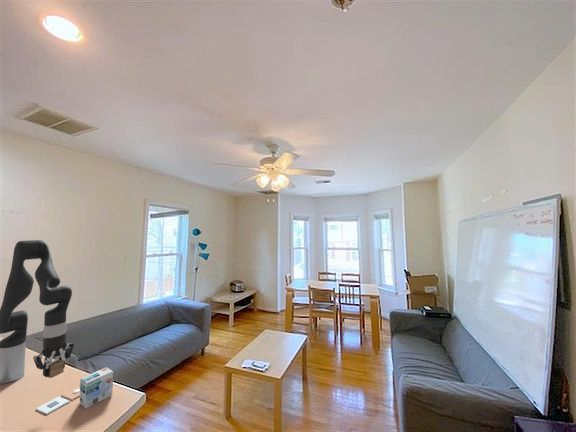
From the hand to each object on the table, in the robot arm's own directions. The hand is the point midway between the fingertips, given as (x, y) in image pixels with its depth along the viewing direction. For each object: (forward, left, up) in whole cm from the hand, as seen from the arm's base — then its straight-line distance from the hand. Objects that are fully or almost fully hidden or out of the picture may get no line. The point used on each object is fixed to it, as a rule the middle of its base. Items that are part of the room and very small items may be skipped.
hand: (54, 373), depth 109 cm
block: (0, 0, 0) cm, 0 cm away
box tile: (0, 0, -14) cm, 14 cm away
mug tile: (0, +9, -14) cm, 16 cm away
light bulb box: (+13, +10, -14) cm, 21 cm away
